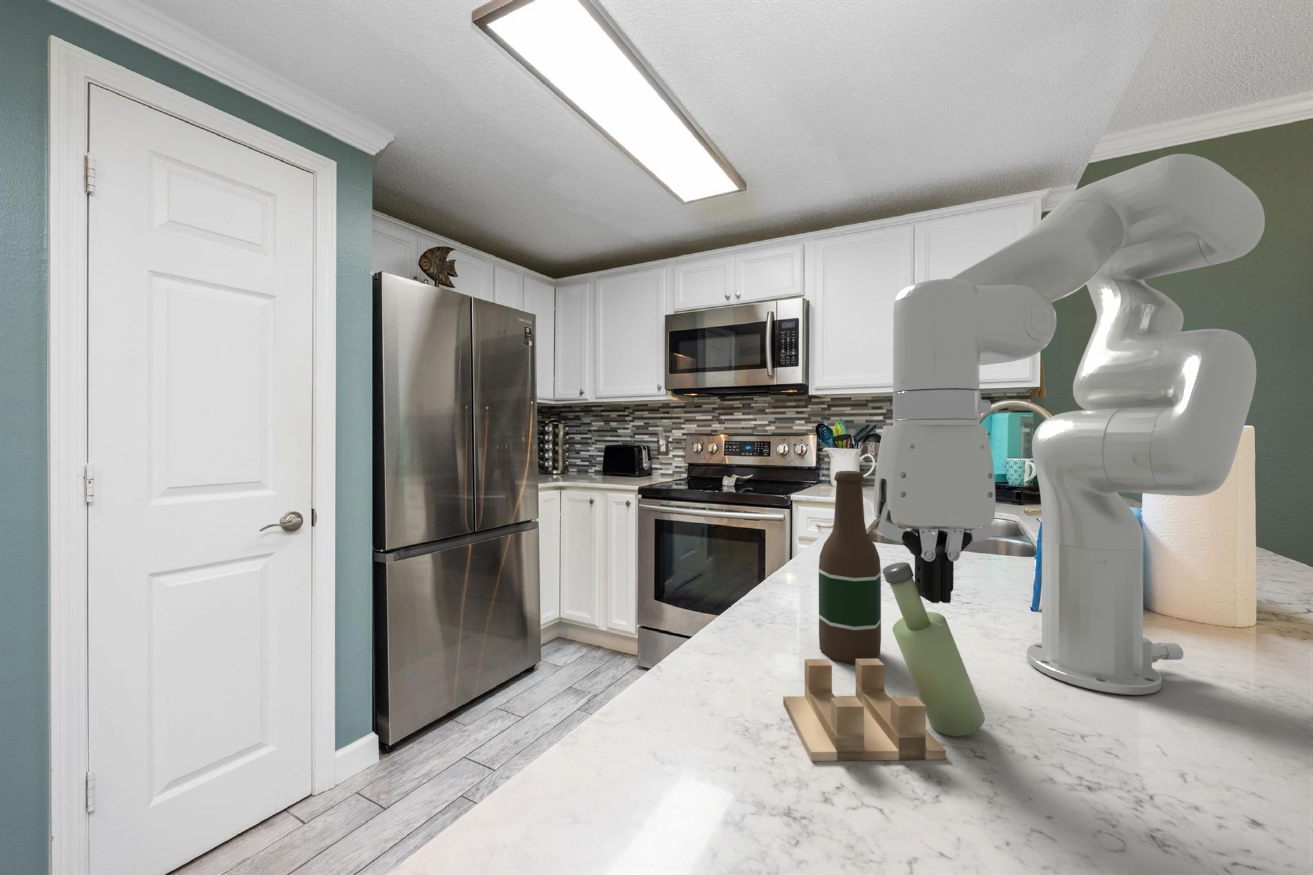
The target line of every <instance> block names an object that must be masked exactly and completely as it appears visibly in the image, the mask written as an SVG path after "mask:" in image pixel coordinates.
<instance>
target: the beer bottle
mask: <svg viewBox="0 0 1313 875" xmlns="http://www.w3.org/2000/svg"><path fill="white" fill-rule="evenodd" d="M833 480H834V481H835V482H836V485H835V486H836V488H835V499H834V500H835V502H834V516H833V518H834V519H833V520H834V521H833V525H832V530H831V531H832V532H831V533H830V535H829V536H828V537H827V538H826V540H825V542H824V543H823V545H822V548H821V551H820V554H819V559H818V560H819V561H818V562H819V563H818V640H819V644H818V645H819V649H820V650H819V651H820V652H822V653H823V654H824V655H825V656H827V657H828V658H829V659H830V660H831V661H834V662H840V663H845V664H848V665H853V666H856V659H878V657H879V656H880V654H881V647H882V646H881V644H882V571H881V570H882V568H881V558H880V554H879V552H878V550H877V547H876V545H875V543H874V541H873V540H872V539H871V538H870V536H869V534H868V532H867V528H866V522H865V509H864V508H865V507H864V493H863V482H864V481H865V476H864V474H863V472H861V471H858V470H857V471H856V470H839V471H836V472H835V474H834V478H833Z"/></svg>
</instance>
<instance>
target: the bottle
mask: <svg viewBox="0 0 1313 875" xmlns="http://www.w3.org/2000/svg"><path fill="white" fill-rule="evenodd" d="M881 573H882V574H883V576H884V579H885V581H886V583H888V584H889V586H890V588H891V591H892V593H893V596H894V598H895V600H896V603H897V605H898V608H899V611H900V614H901V615H902V618H900V619H898V620H897V621H896V622H895V623H894V624H893V626H892V632H893V635H894V638H895V640H896V642H897V645H898V648H899V650H900V653H901V655H902V658H903V660H904V663H905V664H906V668H907V670H908V672H909V675H910V677H911V680H912V682H913V685H914V688H915V690H916V692H917V695H918V696H919V698H918V699H919V700H920V701H921V702H922V703H923V704H924V705H925V706H926V717H927V719H928V722H929V725H930V727H931V728H932V729H933V730H934V731H936V732H937V733H939V734H942V735H945V736H950V737H961V736H962V737H963V736H967V735H969V734H973V733H974V732H976V731H978V730H980V729H981V728H982V726H983V725H984V723H985V718H986V717H985V714H984V711H983V709H982V707H981V706H982V705H981V704H980V701H979V698H978V696H977V694H976V690H975V688H974V686H973V684H972V681H971V678H970V676H969V674H968V671H967V669H966V666H965V664H964V662H963V659H962V656H961V654H960V651H959V649H958V646H957V643H956V642H955V641H956V640H955V639H954V636H953V633H952V631H951V628H950V627H949V624H948V622H947V618H946V617H945V615H943V614H941V613H938V612H934V611H933V612H932V611H927V610H926V608H925V605H924V603H923V600H922V597H921V596H920V595H919V592H918V590H917V587H916V585H915V579H914V578H913V577H915V573H914V572H913V569H912V567H911V565H910V563H909V562H903V561H901V562H896V563H895V562H894V563H891V564H889V565H887V566H885V567H884V568H883V569H882V571H881Z"/></svg>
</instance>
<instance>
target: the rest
mask: <svg viewBox="0 0 1313 875" xmlns="http://www.w3.org/2000/svg"><path fill="white" fill-rule="evenodd" d="M782 701H783V706H784V708H785V711H786V712H787V715H788V717H789V718H790V721H791V723H792V725H793V727H794V728H795V731H796V733H797V735H798V737H799V739H800V741H801V743H802V745H803V747H804V749H805V751H806V754H807V756H808V757H809V759H810V761H811V762H823V761H824V762H825V761H827V762H832V761H833V762H834V761H835V762H840V761H850V762H851V761H852V762H853V761H920V760H922V761H923V760H924V761H927V760H928V761H932V760H933V761H935V760H936V761H937V760H941V761H942V760H946V759H947V753H946V752H947V750H946V749H945V748H944V747H943V746H942V745H941V743H939V741H937V739H936V738H935V737H934V736H933V735H932V734H931V733H930V731H928V730H927V728H926V726H927V725H926V722H927V721H926V717H927V715H926V706H925V705H924V704H923V703H922V702H921V700H920V698H918V697H917V696H900V697H899V696H896V695H888V694H887V693H886V692H885V664H884V663H883V662H882V661H881V660H880V659H879V658H877V659H856V665H855V695H834V692H833V665H832V664H831V663H830V661H829V659H828V658H804V696H798V695H797V696H795V695H794V696H782Z"/></svg>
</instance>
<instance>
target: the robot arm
mask: <svg viewBox="0 0 1313 875" xmlns="http://www.w3.org/2000/svg"><path fill="white" fill-rule="evenodd" d="M1265 224H1266V218H1265V211H1264V207H1263V205H1262V202H1261V201H1260V199H1259V197H1258V195H1257V194H1256V193H1255V192H1254V191H1253V190H1252V189H1251V188H1250V187H1249V186H1248V185H1246V184H1245V183H1244V182H1242V180H1239V179H1238V177H1236V176H1234V175H1232V174H1231V173H1230V172H1228V171H1227V169H1225V168H1223V167H1222V166H1220V165H1219V164H1217V163H1215V162H1214V161H1212V160H1210V159H1208V158H1205V157H1203V156H1199V155H1195V154H1190V153H1176V154H1175V153H1174V154H1170V155H1166V156H1162V157H1160V158H1157V159H1154V160H1151V161H1149V162H1146V163H1143V164H1141V165H1140V164H1139V165H1138V166H1135V167H1132V168H1128V169H1127V170H1123V171H1121V172H1119V173H1116V174H1112V175H1110V176H1106V177H1105V178H1102V179H1099V180H1096V181H1094V182H1091V183H1089V184H1086V185H1085V186H1082V187H1080V188H1078V189H1077V190H1075V191H1073V192H1072V193H1070V194H1069V195H1067V196H1066V197H1065V198H1064V199H1063V200H1062V201H1061V202H1059V203H1058V204H1057V206H1055V207H1054V208H1053V209H1052V210H1050V211H1049V213H1047V214H1046V215H1045V217H1043V218H1042V219H1041V220H1040V221H1039V222H1038V223H1037V224H1036V225H1034V227H1032V228H1031V229H1030V230H1029V231H1027V233H1025V235H1023V236H1021V238H1019V239H1017V240H1015V241H1013V242H1011V243H1009V244H1007V245H1006V246H1003V247H1002V248H1001V249H999V250H997V251H995V252H994V253H992V254H990V255H989V256H987V257H986V258H984V259H982V260H980V261H978V262H977V263H975V264H974V265H971V266H970V267H968V268H966V269H964V270H963V271H961V272H959V273H957V274H956V275H954V276H953V277H951V278H941V279H929V280H924V281H922V282H917V283H914V284H911V285H909V286H907V287H904V288H903V289H901V291H899V292H898V293H897V295H896V296H895V299H894V302H893V310H892V311H893V313H892V315H893V320H892V321H893V324H892V325H893V326H892V327H893V328H892V329H893V331H892V332H893V333H892V334H893V335H892V336H893V337H892V338H893V339H892V340H893V341H892V343H893V344H892V350H893V351H892V425H884V426H883V430H882V433H881V438H880V442H879V447H878V453H877V459H876V467H875V475H874V488H873V489H874V491H873V513H874V516H875V517H876V519H878V520H879V521H878V522H879V523H878V526H877V530H876V533H877V534H878V535H879V536H880V537H881V538H885V539H887V540H890V541H891V540H892V541H895V542H898V543H902V544H903V545H904V546H905V548H906V549H907V550H908V551H909V552H910V554H911V555H913V556H914V582H915V585H916V587H917V590H918V592H919V595H920V597H921V598H923V599H924V600H926V601H929V602H930V603H932V604H939V603H940V602H941V603H943V604H951V602H952V592H953V591H954V576H955V575H954V573H955V572H954V569H955V568H954V564H955V562H956V561H958V560H959V559H960V557H961V552H963V551H964V550H965V549H966V548H967V547H968V546H969V545H970V544H971V543H975V542H979V541H984V540H987V539H990V538H991V537H992V535H993V532H992V528H991V524H992V523H993V522H994V519H995V514H996V513H995V512H996V482H995V481H996V480H995V471H994V470H995V469H994V461H993V454H992V448H991V443H990V439H989V434H988V431H987V427H986V425H980V420H981V418H982V416H981V415H982V414H989V413H990V412H991V411H992V402H991V401H990V400H988V399H982V393H981V392H980V369H981V368H980V367H981V366H987V365H988V366H989V365H995V364H1003V363H1011V362H1016V361H1017V362H1018V361H1021V360H1025V359H1027V358H1030V357H1033V356H1035V355H1037V354H1038V353H1040V352H1041V351H1043V350H1044V349H1045V348H1046V347H1047V346H1048V345H1049V343H1050V342H1052V339H1053V337H1054V334H1056V329H1057V314H1056V313H1057V312H1056V310H1055V307H1054V306H1053V303H1054V302H1056V301H1059V300H1061V299H1063V298H1066V297H1068V296H1069V295H1072V294H1074V293H1075V292H1077V291H1079V290H1080V289H1082V288H1083V287H1084V286H1085V285H1086V287H1087V290H1088V292H1089V295H1090V298H1091V301H1092V304H1093V306H1094V309H1095V313H1096V321H1095V325H1094V327H1093V330H1092V333H1091V335H1090V338H1089V341H1088V343H1087V345H1086V348H1085V350H1084V352H1083V355H1082V357H1081V359H1080V362H1079V364H1078V368H1077V371H1076V373H1075V376H1074V379H1073V384H1072V394H1073V398H1074V400H1075V402H1076V404H1077V405H1078V406H1079V407H1080V408H1082V409H1083V410H1082V409H1081V410H1071V411H1065V412H1061V413H1058V414H1055V415H1052V416H1051V417H1048V418H1046V419H1045V420H1043V421H1042V422H1041V423H1040V424H1039V425H1038V427H1037V428H1036V430H1035V431H1034V434H1033V437H1032V441H1031V451H1032V452H1031V453H1032V458H1033V463H1034V468H1035V472H1036V477H1037V482H1038V487H1039V494H1040V506H1041V642H1035V643H1034V644H1031V645H1030V646H1029V647H1027V649H1026V660H1027V661H1028V663H1029V664H1030V665H1031V666H1033V668H1035V669H1037V670H1038V671H1040V672H1041V673H1043V674H1045V675H1047V676H1049V677H1052V678H1054V679H1056V680H1059V681H1061V682H1064V683H1067V684H1069V685H1074V686H1077V687H1080V688H1084V689H1088V690H1092V691H1093V690H1094V691H1097V692H1104V693H1109V694H1115V695H1128V696H1129V695H1130V696H1139V695H1140V696H1142V695H1149V694H1154V693H1157V692H1158V691H1160V690H1161V688H1162V676H1161V674H1160V672H1158V671H1157V670H1156V669H1155V668H1153V663H1157V662H1158V661H1159V660H1162V661H1163V660H1164V661H1179V660H1182V659H1183V657H1184V651H1183V648H1182V647H1181V646H1180V645H1179V644H1178V643H1177V642H1156V643H1153V642H1152V641H1151V640H1150V639H1149V638H1148V637H1145V636H1144V532H1143V528H1142V525H1141V523H1140V521H1139V518H1138V517H1137V516H1136V514H1135V513H1134V511H1133V509H1132V508H1131V507H1130V506H1129V505H1128V504H1127V503H1126V501H1125V500H1124V499H1123V497H1122V496H1121V495H1120V494H1119V493H1135V494H1136V493H1137V494H1148V495H1149V494H1150V495H1163V496H1178V497H1179V496H1180V497H1197V496H1198V497H1199V496H1204V495H1208V494H1211V493H1214V492H1215V491H1217V490H1218V489H1220V488H1221V487H1222V485H1223V484H1224V483H1225V482H1226V480H1227V478H1228V477H1229V475H1230V472H1231V470H1232V467H1233V464H1234V461H1235V458H1236V455H1237V451H1238V447H1239V445H1240V444H1239V443H1240V440H1241V437H1242V433H1243V430H1244V427H1245V424H1246V420H1247V419H1248V418H1247V417H1248V414H1249V410H1250V407H1251V403H1252V400H1253V397H1254V392H1255V387H1256V383H1257V362H1256V361H1257V360H1256V357H1255V354H1254V353H1255V352H1254V350H1253V348H1252V346H1251V345H1250V343H1249V341H1248V340H1247V339H1246V338H1244V337H1243V336H1242V334H1239V333H1237V332H1235V331H1231V330H1227V329H1221V328H1204V329H1194V330H1187V331H1186V330H1185V331H1182V330H1183V326H1184V321H1185V320H1184V314H1183V313H1184V312H1183V311H1182V309H1181V308H1180V307H1179V305H1178V304H1177V303H1175V301H1173V300H1172V298H1170V297H1169V296H1168V295H1166V294H1165V293H1163V292H1162V291H1159V290H1157V289H1156V288H1154V287H1151V286H1149V285H1148V284H1147V283H1146V281H1145V280H1147V279H1151V278H1156V277H1157V278H1158V277H1161V276H1162V277H1163V276H1166V275H1171V274H1176V273H1180V272H1186V271H1190V270H1194V269H1199V268H1204V267H1209V266H1215V265H1217V264H1218V265H1219V264H1224V263H1227V262H1231V261H1234V260H1236V259H1239V258H1242V257H1244V256H1245V255H1247V254H1248V253H1249V252H1251V251H1252V250H1253V249H1254V248H1256V246H1257V245H1258V243H1259V242H1260V240H1261V239H1262V236H1263V234H1264V232H1265ZM933 530H935V532H934V534H933ZM933 535H934V536H933Z"/></svg>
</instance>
